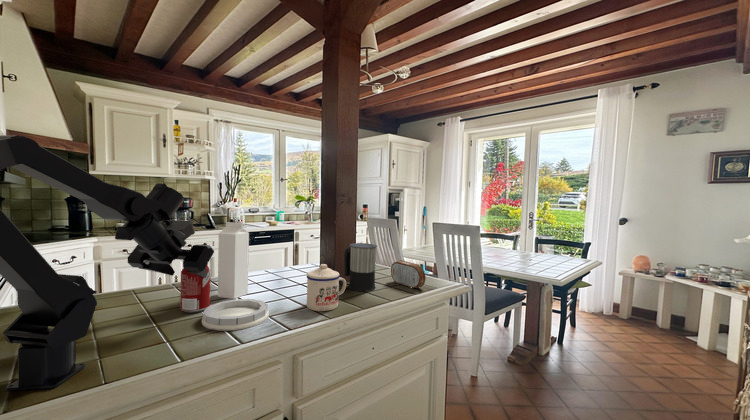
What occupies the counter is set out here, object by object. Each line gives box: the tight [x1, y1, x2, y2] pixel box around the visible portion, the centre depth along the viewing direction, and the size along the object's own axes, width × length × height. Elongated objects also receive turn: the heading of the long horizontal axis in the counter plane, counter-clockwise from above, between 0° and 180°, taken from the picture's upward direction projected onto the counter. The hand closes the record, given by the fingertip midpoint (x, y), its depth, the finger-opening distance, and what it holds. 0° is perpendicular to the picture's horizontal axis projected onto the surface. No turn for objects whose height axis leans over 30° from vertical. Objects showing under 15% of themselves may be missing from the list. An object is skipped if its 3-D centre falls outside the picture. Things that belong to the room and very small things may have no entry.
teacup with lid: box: [306, 263, 347, 312], centre depth 88 cm, size 12×9×12 cm
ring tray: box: [201, 298, 270, 332], centre depth 77 cm, size 15×15×2 cm
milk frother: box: [338, 242, 378, 292], centre depth 105 cm, size 14×16×15 cm
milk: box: [217, 221, 250, 300], centre depth 95 cm, size 6×6×22 cm
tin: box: [390, 259, 426, 289], centre depth 112 cm, size 15×3×8 cm, turn 40°
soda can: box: [179, 263, 212, 314], centre depth 82 cm, size 7×7×12 cm
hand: (189, 275), depth 80 cm, fingers open, 9 cm apart
